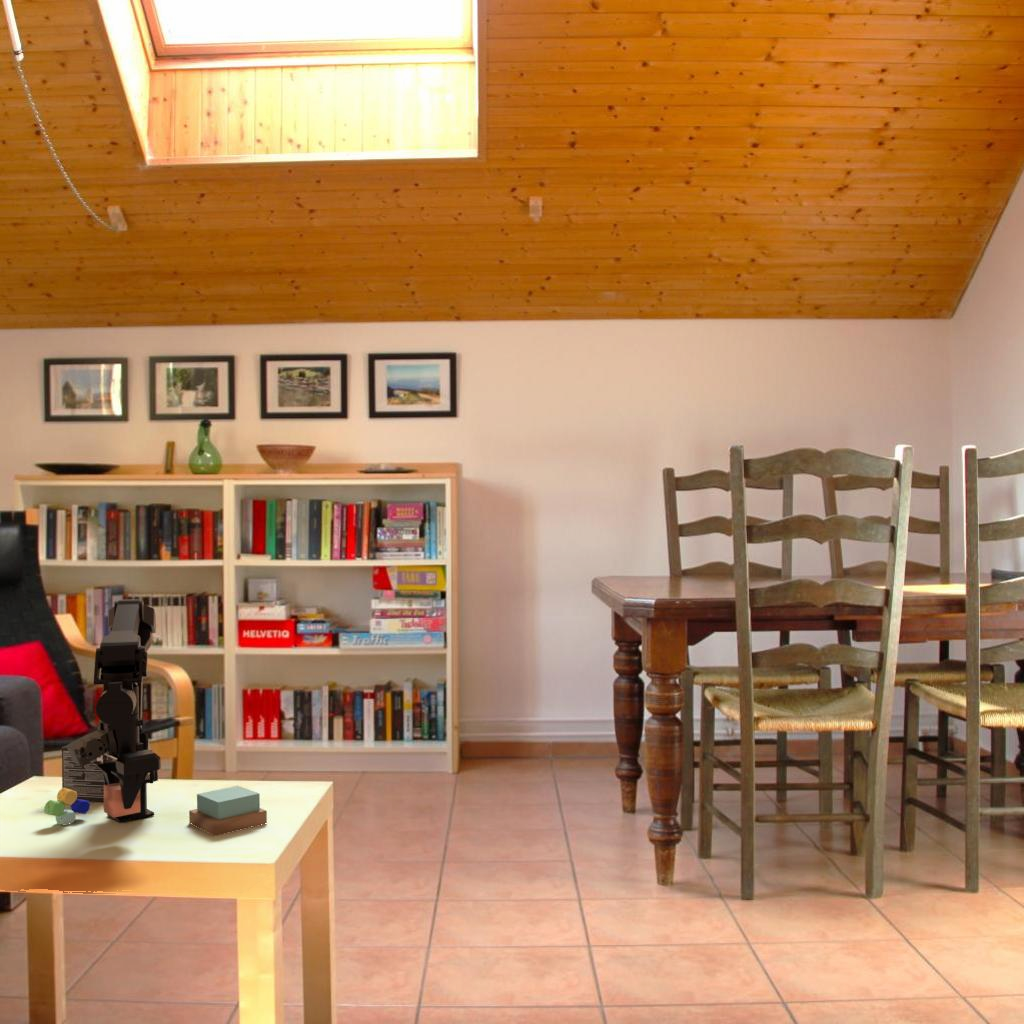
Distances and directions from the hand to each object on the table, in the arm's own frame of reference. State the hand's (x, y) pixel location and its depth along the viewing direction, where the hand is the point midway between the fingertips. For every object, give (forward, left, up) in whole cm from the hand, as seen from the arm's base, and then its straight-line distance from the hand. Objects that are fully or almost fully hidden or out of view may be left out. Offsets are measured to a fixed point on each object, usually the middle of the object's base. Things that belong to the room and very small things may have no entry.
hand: (122, 805), depth 178 cm
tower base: (+3, +18, -7) cm, 19 cm away
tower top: (+3, +18, -4) cm, 19 cm away
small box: (-32, +7, -6) cm, 33 cm away
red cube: (0, 0, -1) cm, 1 cm away
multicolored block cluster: (-18, -3, -6) cm, 19 cm away
